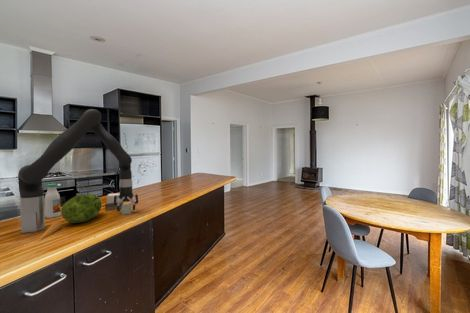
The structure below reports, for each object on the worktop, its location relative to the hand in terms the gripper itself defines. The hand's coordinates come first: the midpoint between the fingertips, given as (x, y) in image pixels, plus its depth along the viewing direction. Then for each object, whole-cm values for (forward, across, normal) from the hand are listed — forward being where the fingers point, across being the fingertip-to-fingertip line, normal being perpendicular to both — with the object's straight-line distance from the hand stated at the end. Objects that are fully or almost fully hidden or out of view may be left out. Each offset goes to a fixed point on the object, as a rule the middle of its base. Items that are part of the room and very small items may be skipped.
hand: (126, 210), depth 152 cm
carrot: (+2, -32, -29) cm, 43 cm away
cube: (+1, 0, 0) cm, 1 cm away
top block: (-3, -9, +16) cm, 19 cm away
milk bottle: (+2, -42, +7) cm, 43 cm away
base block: (+2, -9, +16) cm, 19 cm away
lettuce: (+2, -21, -8) cm, 23 cm away
